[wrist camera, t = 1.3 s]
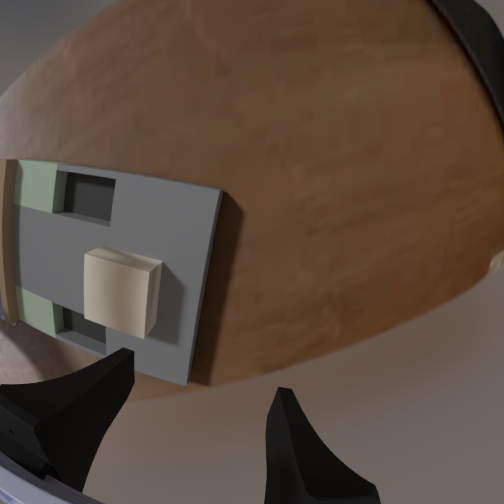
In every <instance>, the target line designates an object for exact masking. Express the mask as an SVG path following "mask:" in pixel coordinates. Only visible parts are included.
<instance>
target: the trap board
mask: <svg viewBox="0 0 504 504" xmlns="http://www.w3.org/2000/svg"><path fill="white" fill-rule="evenodd" d="M223 193H224V189H219V188H214V187H209V186H204V185H199V184H194V183H189V182H184V181H178V180H173V179H167V178H162V177H156V176H150V175H144V174H138V173H132V172H126V171H119V170H113V169H106V168H99V167H92V166H84V165H76V164H68V163H60V162H51V161H42V160H32V159H1V163H0V291H1V299H2V306H3V312H4V318H5V322H6V323H7V324H9V325H12V324H14V323H15V322H17V321H18V320H21V321H23V322H25V323H27V324H28V325H30V326H32V327H34V328H36V329H38V330H40V331H42V332H44V333H46V334H48V335H50V336H52V337H54V338H56V339H58V340H61V341H63V342H65V343H67V344H69V345H71V346H74V347H76V348H78V349H81V350H83V351H85V352H88V353H90V354H92V355H95V356H97V357H100V358H102V359H103V358H105V357H106V356H108V355H110V354H112V353H113V352H115V351H117V350H119V349H121V348H123V347H124V348H127V349H130V350H133V351H135V354H134V370H135V371H138V372H141V373H144V374H147V375H150V376H153V377H156V378H160V379H163V380H166V381H170V382H173V383H176V384H180V385H184V386H186V385H187V383H188V380H189V377H190V375H191V372H192V365H193V358H194V352H195V345H196V339H197V333H198V326H199V320H200V314H201V309H202V303H203V297H204V291H205V286H206V280H207V274H208V269H209V264H210V258H211V253H212V248H213V243H214V237H215V232H216V227H217V222H218V217H219V212H220V208H221V203H222V198H223ZM101 246H106V247H110V248H114V249H117V250H121V251H125V252H129V253H132V254H136V255H140V256H144V257H148V258H152V259H156V260H160V261H163V263H162V271H161V279H160V288H159V297H158V307H157V318H156V324H155V325H154V326H153V328H152V329H151V331H150V332H149V333H148V335H147V336H146V337H145V339H142V338H139V337H136V336H133V335H130V334H127V333H124V332H121V331H118V330H115V329H112V328H109V327H106V326H104V325H101V324H98V323H96V322H93V321H90V320H88V319H85V317H84V255H85V253H88V252H90V251H92V250H94V249H96V248H98V247H101Z"/></svg>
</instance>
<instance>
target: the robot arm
mask: <svg viewBox="0 0 504 504" xmlns="http://www.w3.org/2000/svg"><path fill="white" fill-rule="evenodd" d="M0 318H1V319H3V320H4V321H5V318H4V312H3V306H2V299H1V291H0ZM16 324H17V322H15V323H14V324H12V325H13V326H15V325H16ZM134 354H135V351H133V350H130V349H127V348H124V347H123V348H121V349H119V350H117V351H115V352H113V353H112V354H110V355H108V356H106V357H105V358H103V359H101V360H99V361H97V362H95V363H93V364H92V365H90V366H87V367H85V368H83V369H81V370H79V371H76V372H74V373H71V374H69V375H66V376H63V377H59V378H56V379H52V380H47V381H43V382H37V383H29V384H1V385H0V499H1V500H2V501H3V502H5V503H6V504H104V503H102V502H100V501H97V500H95V499H93V498H91V497H89V496H87V495H84V494H83V493H82V491H83V488H84V485H85V481H86V479H87V476H88V473H89V470H90V467H91V465H92V462H93V460H94V457H95V455H96V452H97V450H98V448H99V445H100V443H101V441H102V439H103V437H104V435H105V433H106V431H107V429H108V428H109V426H110V425H111V423H112V422H113V420H114V419H115V417H116V415H117V414H118V412H119V411H120V409H121V408H122V406H123V405H124V403H125V401H126V400H127V398H128V396H129V394H130V392H131V389H132V387H133V385H134V383H135V382H134ZM266 462H267V481H266V492H265V501H264V504H381V503H380V498H379V494H378V491H377V489H376V486H375V485H374V484H372V483H370V482H369V481H367V480H366V479H364V478H362V477H361V476H359V475H358V474H356V473H355V472H354V471H352V470H351V469H350V468H348V467H347V466H346V465H345V464H344V463H343V462H342V461H341V460H339V459H338V458H337V457H336V456H335V455H334V454H333V453H332V452H331V451H330V450H329V448H328V447H327V446H326V445H325V444H324V443H323V441H322V440H321V439H320V438H319V436H318V435H317V433H316V432H315V430H314V429H313V427H312V426H311V424H310V423H309V421H308V420H307V418H306V416H305V414H304V413H303V411H302V409H301V407H300V405H299V403H298V401H297V399H296V397H295V395H294V393H293V391H292V389H289V388H282V387H278V389H277V392H276V395H275V398H274V400H273V403H272V405H271V408H270V410H269V413H268V416H267V423H266Z"/></svg>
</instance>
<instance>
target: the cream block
mask: <svg viewBox="0 0 504 504" xmlns="http://www.w3.org/2000/svg"><path fill="white" fill-rule="evenodd" d="M162 263H163V261H160V260H156V259H152V258H148V257H144V256H140V255H136V254H132V253H129V252H125V251H121V250H117V249H114V248H110V247H106V246H101V247H98V248H96V249H94V250H92V251H90V252H88V253H85V255H84V317H85V319H88V320H90V321H93V322H96V323H98V324H101V325H104V326H106V327H109V328H112V329H115V330H118V331H121V332H124V333H127V334H130V335H133V336H136V337H139V338H142V339H145V337H146V336H147V335H148V333H149V332H150V331H151V329H152V328H153V326H154V325H155V324H156V318H157V307H158V297H159V288H160V279H161V271H162Z"/></svg>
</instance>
